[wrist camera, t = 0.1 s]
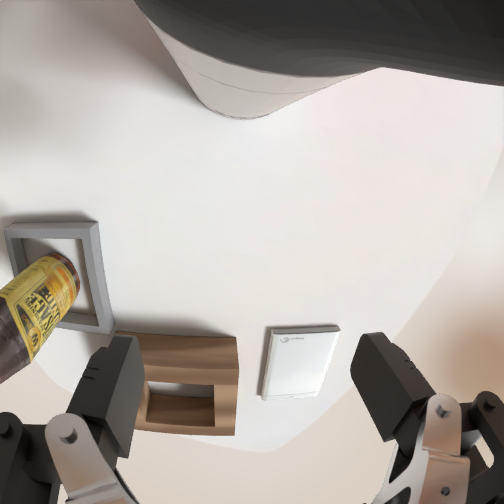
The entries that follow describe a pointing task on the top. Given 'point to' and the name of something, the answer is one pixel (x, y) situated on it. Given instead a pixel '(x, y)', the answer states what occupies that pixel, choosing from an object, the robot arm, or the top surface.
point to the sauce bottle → (34, 309)
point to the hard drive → (298, 361)
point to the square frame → (94, 265)
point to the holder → (188, 372)
